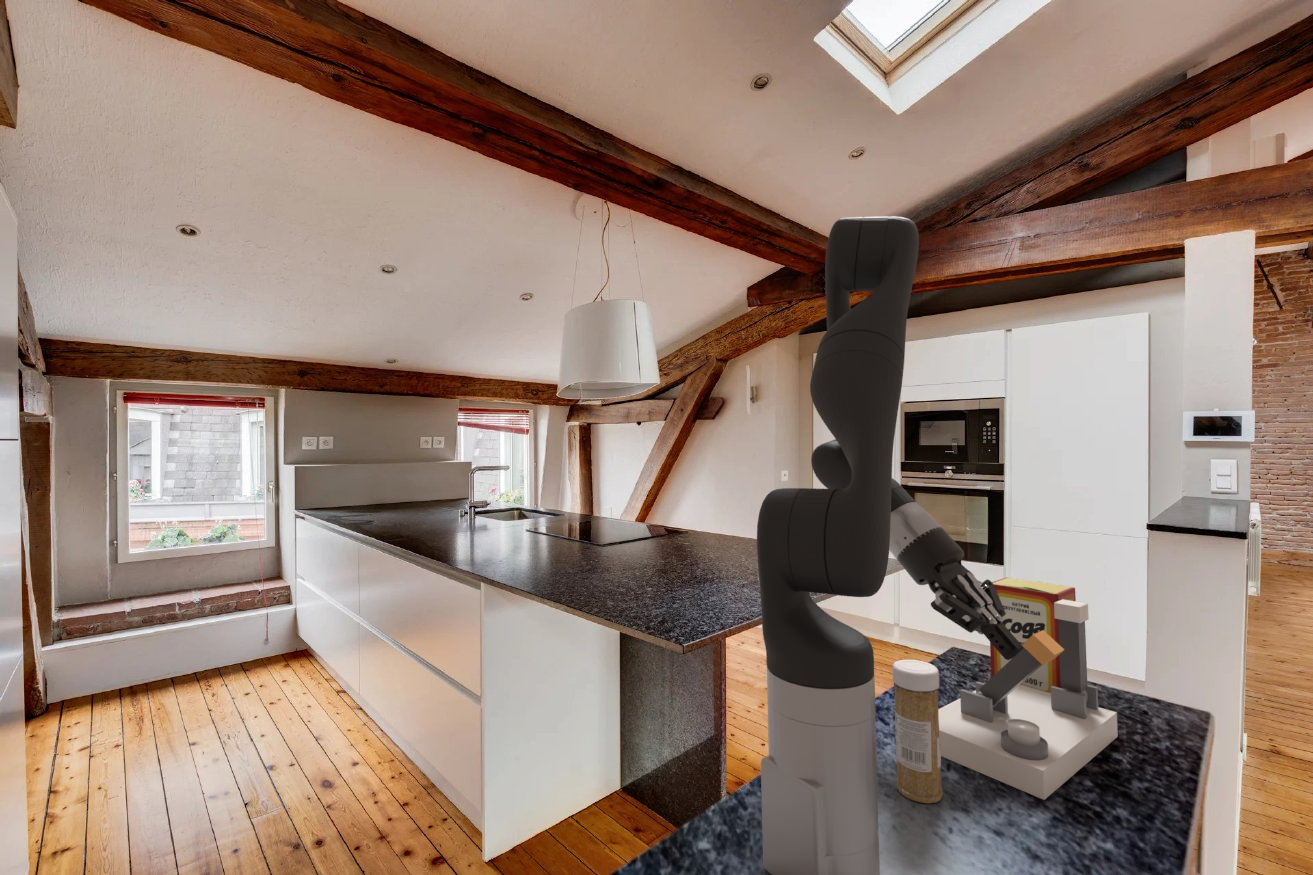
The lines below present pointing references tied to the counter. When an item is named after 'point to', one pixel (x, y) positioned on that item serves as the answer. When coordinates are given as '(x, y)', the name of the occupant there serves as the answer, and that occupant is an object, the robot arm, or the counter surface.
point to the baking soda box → (1031, 623)
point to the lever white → (1072, 644)
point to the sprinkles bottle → (917, 730)
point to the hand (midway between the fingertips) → (1016, 655)
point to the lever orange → (1021, 666)
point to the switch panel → (1052, 729)
